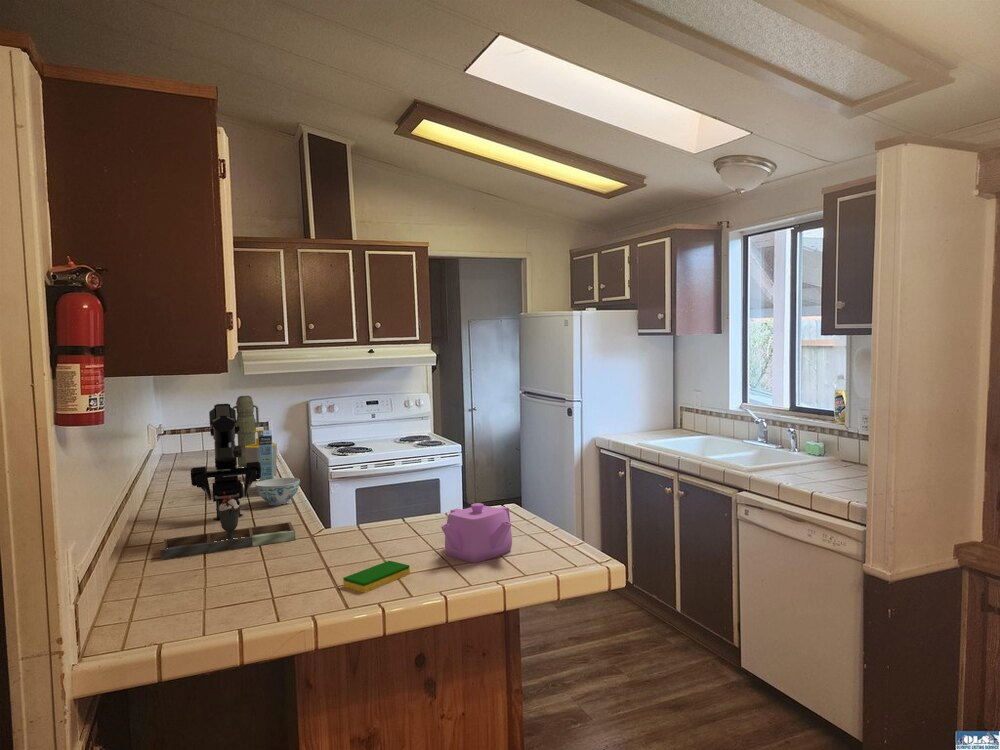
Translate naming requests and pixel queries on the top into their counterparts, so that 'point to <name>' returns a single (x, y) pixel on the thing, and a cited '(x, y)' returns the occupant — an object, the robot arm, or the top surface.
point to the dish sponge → (376, 576)
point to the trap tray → (207, 544)
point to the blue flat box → (266, 455)
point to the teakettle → (478, 533)
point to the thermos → (245, 425)
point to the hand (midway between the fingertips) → (228, 497)
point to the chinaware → (278, 490)
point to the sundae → (229, 514)
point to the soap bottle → (253, 452)
